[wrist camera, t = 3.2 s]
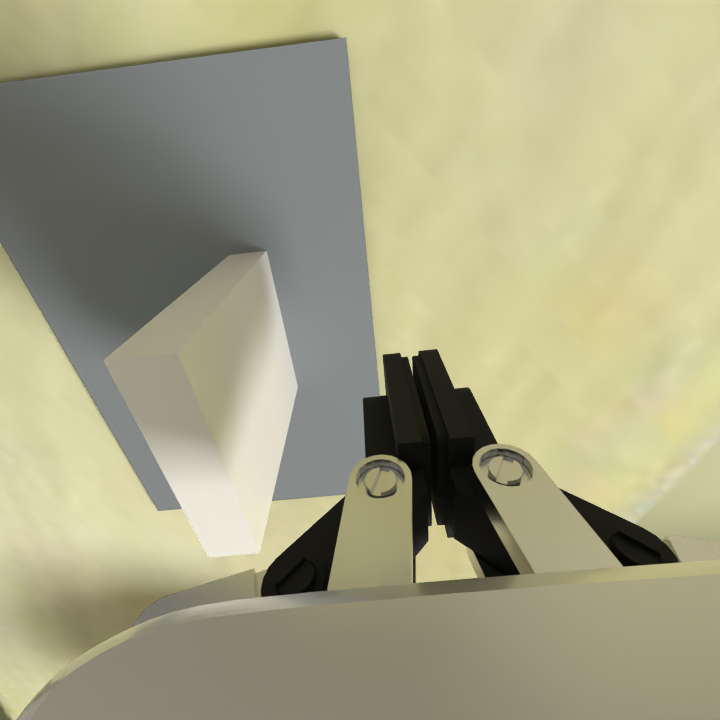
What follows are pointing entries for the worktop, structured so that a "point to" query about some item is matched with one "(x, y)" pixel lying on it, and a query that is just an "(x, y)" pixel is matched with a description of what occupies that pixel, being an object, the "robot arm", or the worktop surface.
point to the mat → (199, 225)
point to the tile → (215, 399)
